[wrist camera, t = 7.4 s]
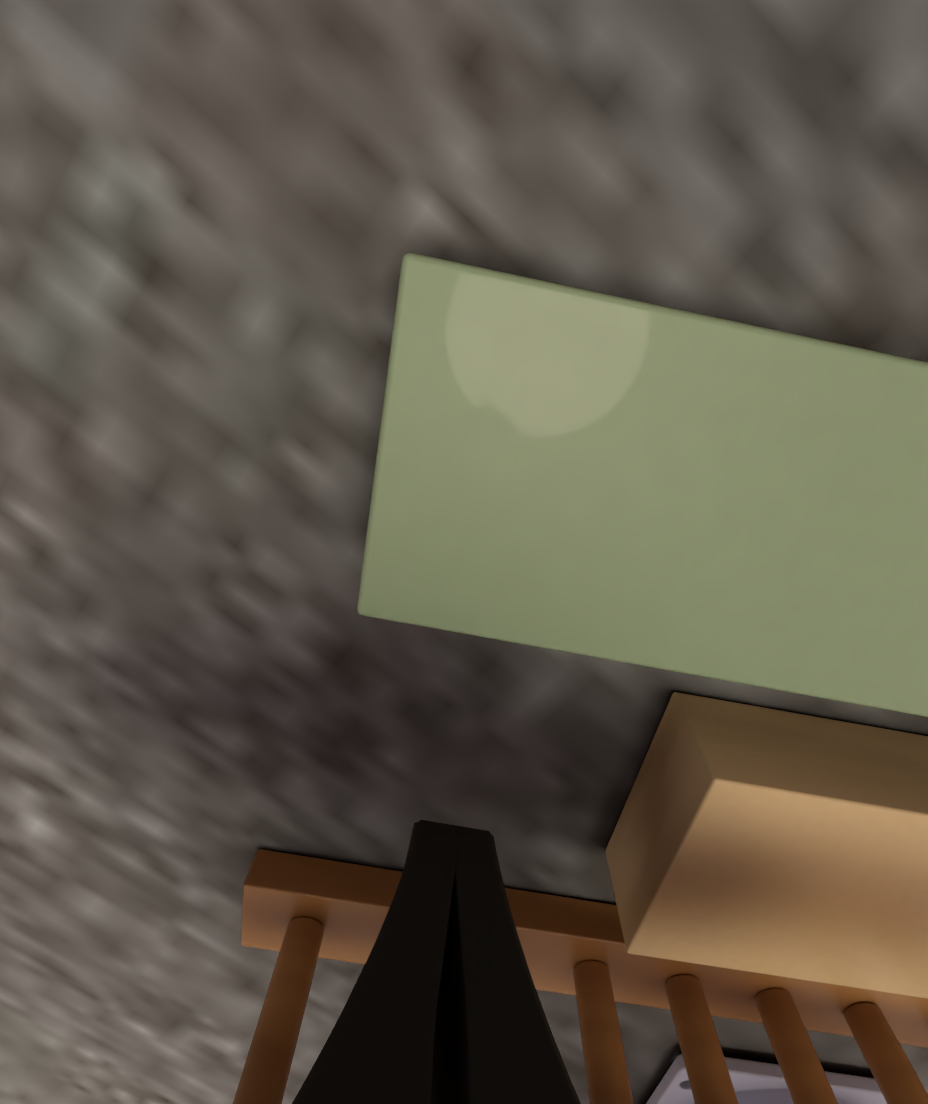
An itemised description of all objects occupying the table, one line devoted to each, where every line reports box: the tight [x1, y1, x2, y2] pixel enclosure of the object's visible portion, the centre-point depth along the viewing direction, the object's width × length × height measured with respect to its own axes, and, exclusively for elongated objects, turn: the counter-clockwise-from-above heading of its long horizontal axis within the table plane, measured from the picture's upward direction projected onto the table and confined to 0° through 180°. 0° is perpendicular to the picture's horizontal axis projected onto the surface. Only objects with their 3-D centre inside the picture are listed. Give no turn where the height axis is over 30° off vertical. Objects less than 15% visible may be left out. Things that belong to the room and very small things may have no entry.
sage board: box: [357, 253, 928, 717], centre depth 9 cm, size 5×14×2 cm, turn 79°
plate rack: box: [233, 849, 928, 1104], centre depth 12 cm, size 2×20×7 cm, turn 79°
